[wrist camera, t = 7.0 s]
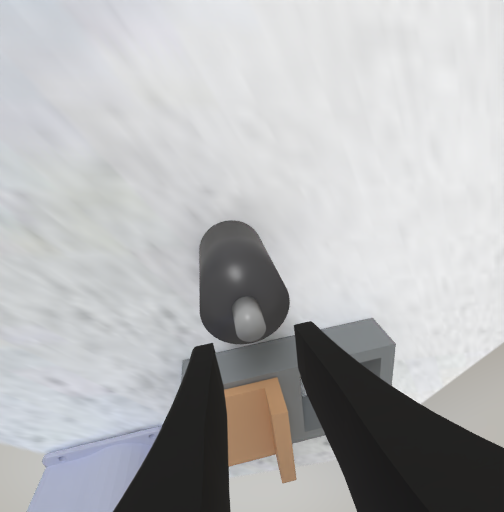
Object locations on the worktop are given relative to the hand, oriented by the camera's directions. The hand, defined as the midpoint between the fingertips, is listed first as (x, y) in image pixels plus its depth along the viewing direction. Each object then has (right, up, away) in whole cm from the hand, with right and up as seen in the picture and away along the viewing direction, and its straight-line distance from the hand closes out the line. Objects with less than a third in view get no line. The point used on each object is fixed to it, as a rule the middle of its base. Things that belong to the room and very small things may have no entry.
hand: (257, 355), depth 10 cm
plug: (-2, +4, +8) cm, 9 cm away
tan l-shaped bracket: (-1, -9, +11) cm, 14 cm away
